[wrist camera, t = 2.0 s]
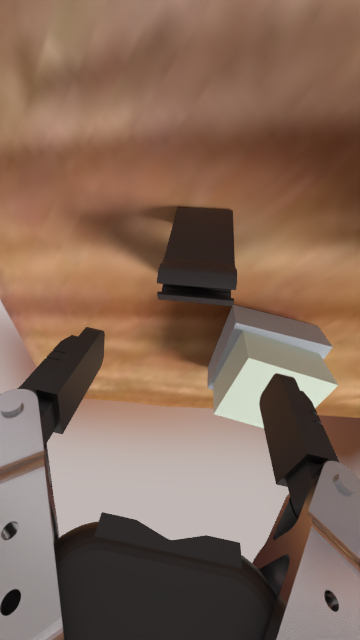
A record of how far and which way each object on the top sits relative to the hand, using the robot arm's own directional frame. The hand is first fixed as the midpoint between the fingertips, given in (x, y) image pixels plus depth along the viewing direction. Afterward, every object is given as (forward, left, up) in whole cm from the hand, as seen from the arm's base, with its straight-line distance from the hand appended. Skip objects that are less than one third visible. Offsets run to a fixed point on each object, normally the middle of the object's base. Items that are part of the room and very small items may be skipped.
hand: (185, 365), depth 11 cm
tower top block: (-12, +12, -16) cm, 23 cm away
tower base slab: (-12, +12, -21) cm, 27 cm away
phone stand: (0, 0, -20) cm, 20 cm away
